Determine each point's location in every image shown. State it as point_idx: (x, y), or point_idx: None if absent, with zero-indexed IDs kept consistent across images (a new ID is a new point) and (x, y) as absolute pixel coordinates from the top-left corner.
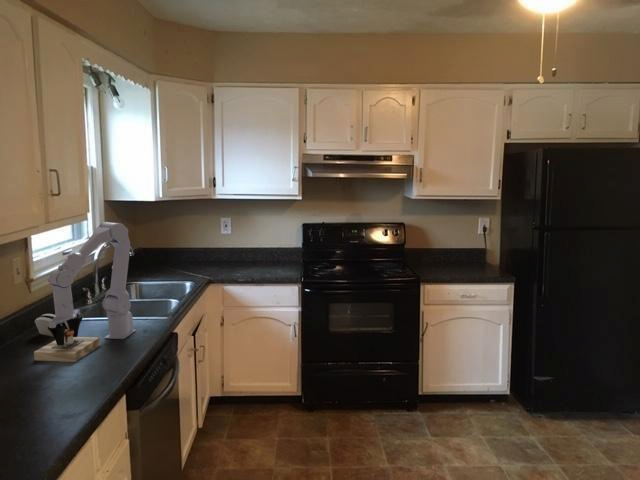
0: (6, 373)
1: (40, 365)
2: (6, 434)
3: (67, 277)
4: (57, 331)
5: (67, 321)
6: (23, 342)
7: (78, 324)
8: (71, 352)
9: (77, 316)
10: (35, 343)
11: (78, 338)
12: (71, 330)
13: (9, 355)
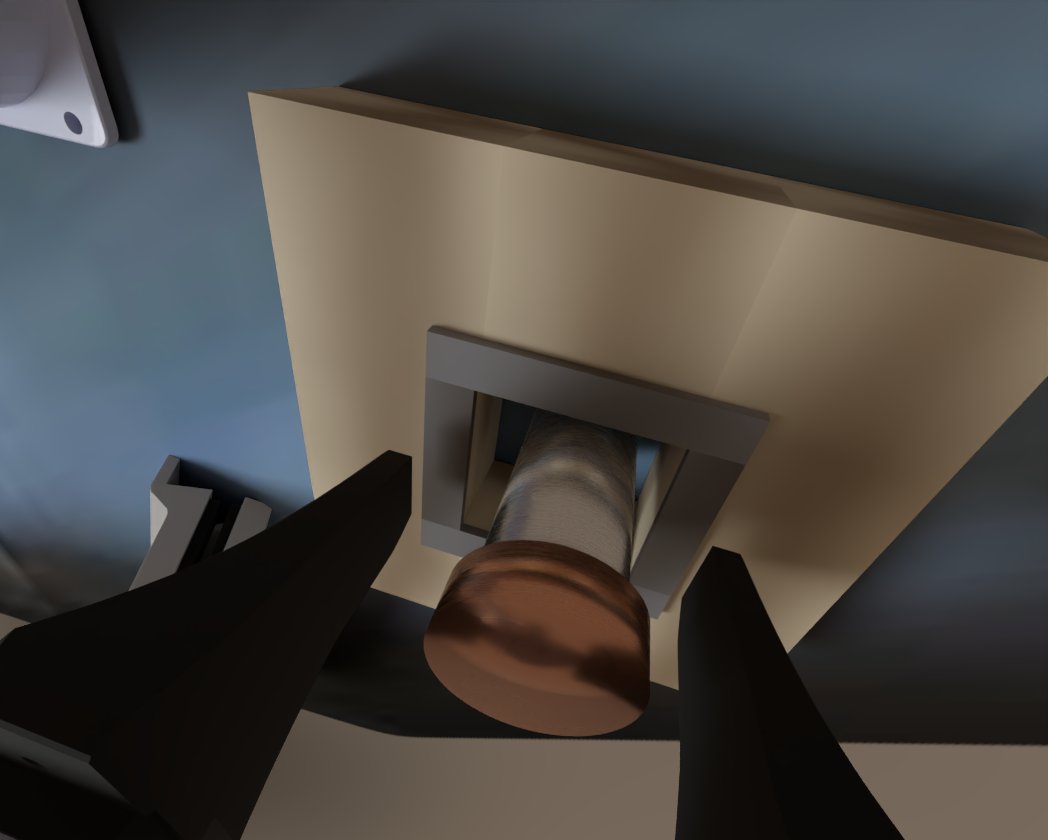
0: (991, 741)
1: (913, 581)
2: None
3: None
4: None
5: (259, 777)
6: (370, 689)
7: (239, 589)
8: (1018, 355)
9: (18, 768)
10: (376, 648)
11: (348, 424)
12: (514, 629)
13: None
